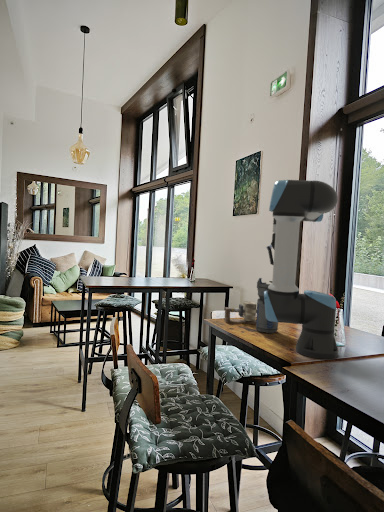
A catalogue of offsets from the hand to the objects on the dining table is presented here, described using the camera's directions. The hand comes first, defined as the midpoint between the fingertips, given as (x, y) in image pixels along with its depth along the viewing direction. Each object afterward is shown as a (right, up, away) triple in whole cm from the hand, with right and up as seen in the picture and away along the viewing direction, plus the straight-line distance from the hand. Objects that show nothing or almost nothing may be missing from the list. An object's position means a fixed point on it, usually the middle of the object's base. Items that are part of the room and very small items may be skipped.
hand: (277, 278), depth 177 cm
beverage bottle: (-8, -24, -15) cm, 29 cm away
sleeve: (-14, -21, +3) cm, 26 cm away
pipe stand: (-16, -23, +3) cm, 28 cm away
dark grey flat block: (-19, -20, +3) cm, 27 cm away
